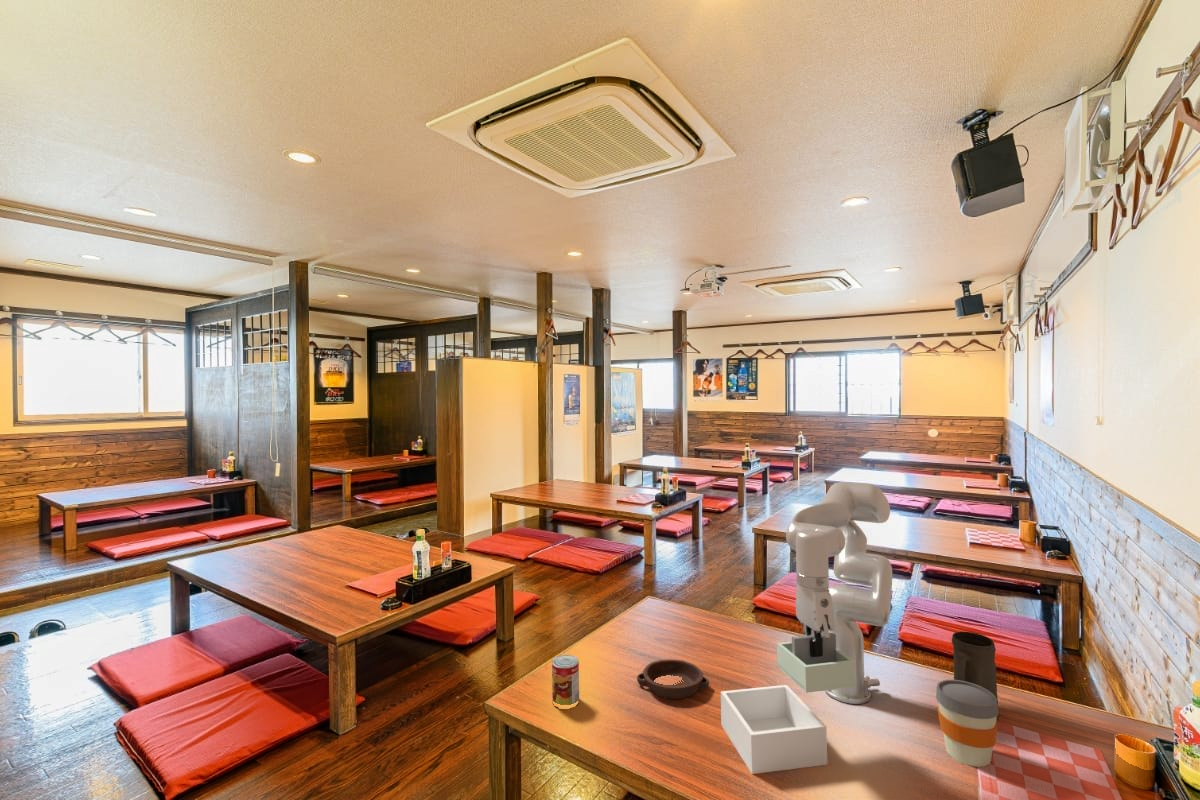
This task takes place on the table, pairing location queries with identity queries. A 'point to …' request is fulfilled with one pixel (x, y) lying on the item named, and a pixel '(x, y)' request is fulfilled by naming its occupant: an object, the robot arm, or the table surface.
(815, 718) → the big crate
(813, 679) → the small crate
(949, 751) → the reusable coffee cup
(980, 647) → the beer stein
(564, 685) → the canned food
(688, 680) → the dish
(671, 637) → the table surface
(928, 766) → the table surface
